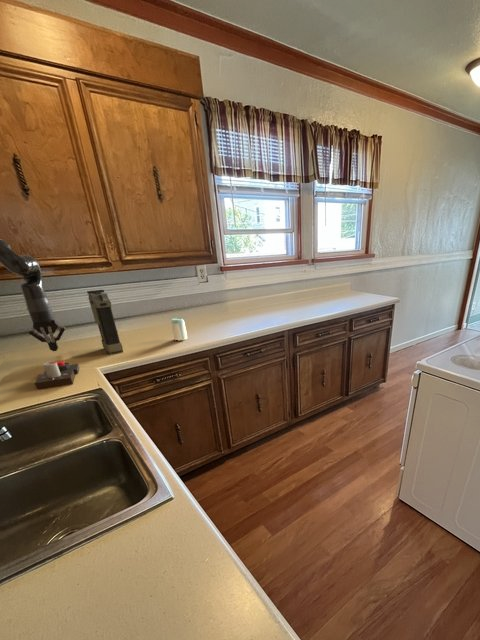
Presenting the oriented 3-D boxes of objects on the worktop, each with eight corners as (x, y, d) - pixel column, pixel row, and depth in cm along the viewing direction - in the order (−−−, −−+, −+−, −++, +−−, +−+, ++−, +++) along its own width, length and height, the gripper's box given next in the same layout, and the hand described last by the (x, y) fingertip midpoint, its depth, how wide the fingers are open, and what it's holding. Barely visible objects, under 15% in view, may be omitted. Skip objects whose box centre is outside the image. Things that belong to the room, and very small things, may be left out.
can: (172, 339, 189) (169, 318, 184) (184, 337, 193) (181, 316, 187) (176, 342, 184) (173, 321, 179) (189, 340, 188) (185, 319, 182)
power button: (54, 367, 139) (53, 363, 138) (55, 365, 142) (54, 361, 141) (64, 366, 141) (63, 362, 140) (65, 363, 143) (64, 360, 143)
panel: (37, 390, 127) (34, 382, 126) (41, 381, 135) (38, 374, 134) (73, 384, 132) (70, 377, 131) (75, 376, 140) (72, 369, 139)
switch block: (45, 379, 137) (41, 370, 135) (47, 372, 144) (44, 364, 142) (78, 374, 142) (75, 365, 140) (79, 368, 149) (76, 359, 147)
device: (101, 348, 174) (85, 290, 160) (117, 345, 179) (101, 288, 165) (109, 355, 165) (91, 293, 151) (125, 351, 169) (109, 291, 156)
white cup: (47, 378, 130) (41, 365, 127) (49, 375, 133) (43, 361, 131) (60, 376, 132) (55, 363, 129) (61, 373, 135) (56, 360, 132)
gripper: (60, 306, 136) (73, 346, 144) (21, 309, 131) (37, 350, 138) (58, 309, 130) (72, 350, 138) (17, 312, 125) (34, 355, 133)
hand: (54, 350), depth 138 cm, fingers closed
